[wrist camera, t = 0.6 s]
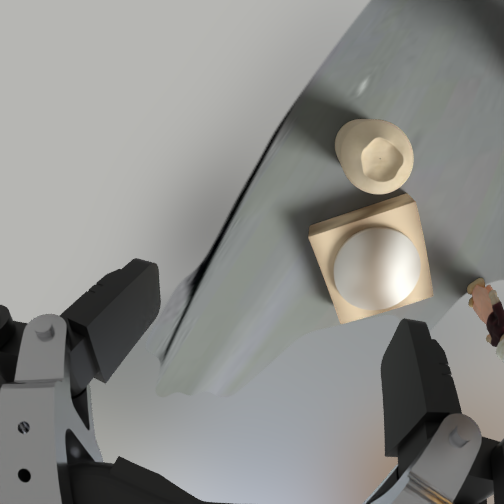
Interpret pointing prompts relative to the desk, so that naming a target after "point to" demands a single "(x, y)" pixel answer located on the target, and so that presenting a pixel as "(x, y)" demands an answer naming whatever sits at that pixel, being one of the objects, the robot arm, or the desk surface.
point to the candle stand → (373, 258)
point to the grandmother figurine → (489, 313)
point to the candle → (374, 155)
